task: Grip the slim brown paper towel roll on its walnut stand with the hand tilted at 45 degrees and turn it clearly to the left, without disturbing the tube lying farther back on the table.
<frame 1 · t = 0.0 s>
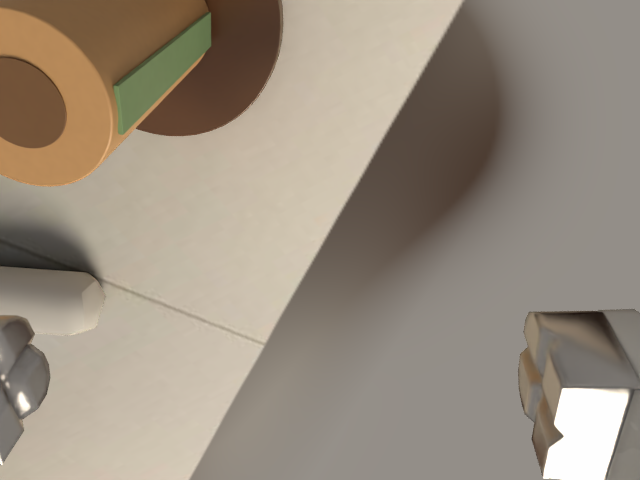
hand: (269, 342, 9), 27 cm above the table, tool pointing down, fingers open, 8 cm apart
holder: (163, 14, 32), on the table
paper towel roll: (104, 52, 25), point 9 cm above the table, hinge at 0.0°
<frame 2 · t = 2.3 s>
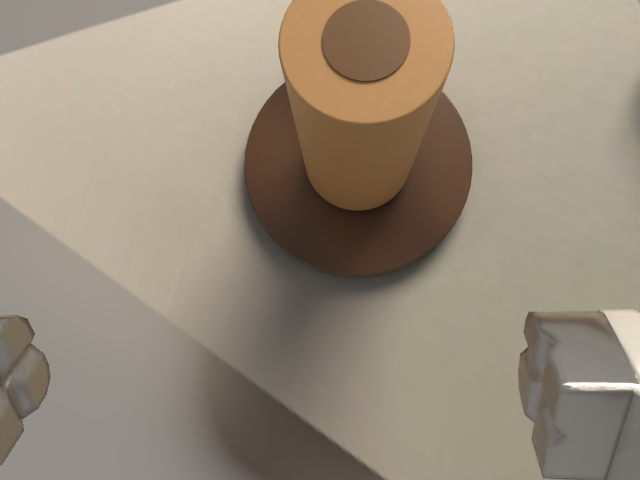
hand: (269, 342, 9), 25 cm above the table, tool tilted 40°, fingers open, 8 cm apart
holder: (357, 167, 36), on the table
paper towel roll: (359, 113, 27), point 9 cm above the table, hinge at 0.0°
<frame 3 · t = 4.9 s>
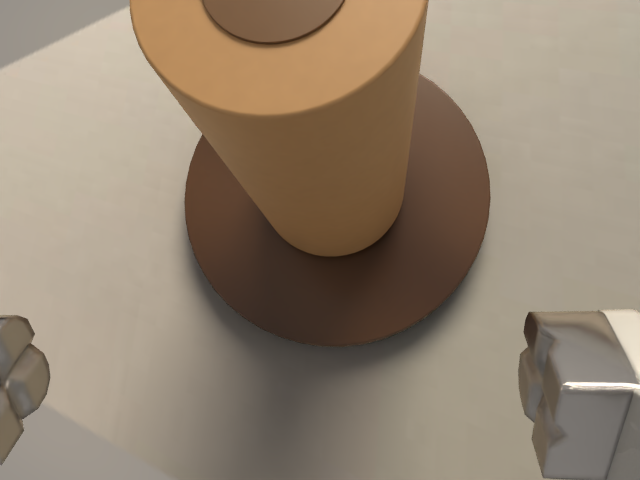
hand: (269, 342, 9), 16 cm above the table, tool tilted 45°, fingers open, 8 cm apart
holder: (335, 197, 27), on the table
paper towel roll: (311, 117, 18), point 9 cm above the table, hinge at 0.0°
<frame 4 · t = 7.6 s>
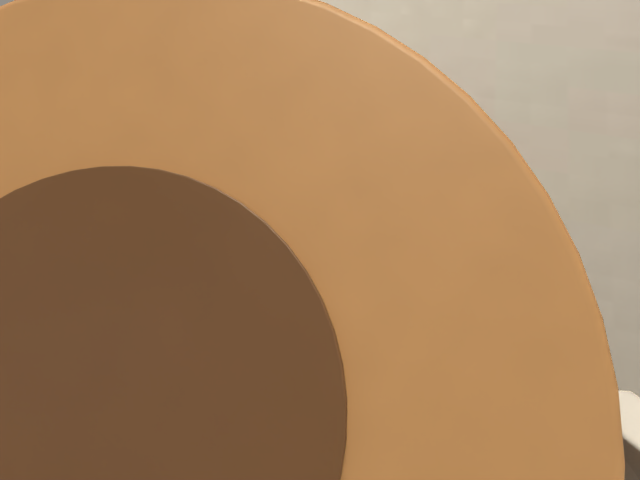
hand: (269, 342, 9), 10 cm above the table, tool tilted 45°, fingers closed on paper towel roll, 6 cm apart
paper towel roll: (279, 378, 10), point 9 cm above the table, hinge at 0.1°, touching gripper
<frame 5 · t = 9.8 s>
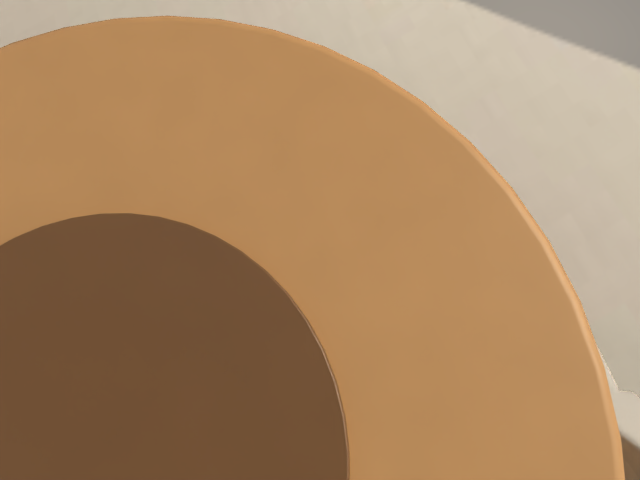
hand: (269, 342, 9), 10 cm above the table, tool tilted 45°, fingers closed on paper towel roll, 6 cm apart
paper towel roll: (281, 395, 10), point 9 cm above the table, hinge at 31.9°, touching gripper
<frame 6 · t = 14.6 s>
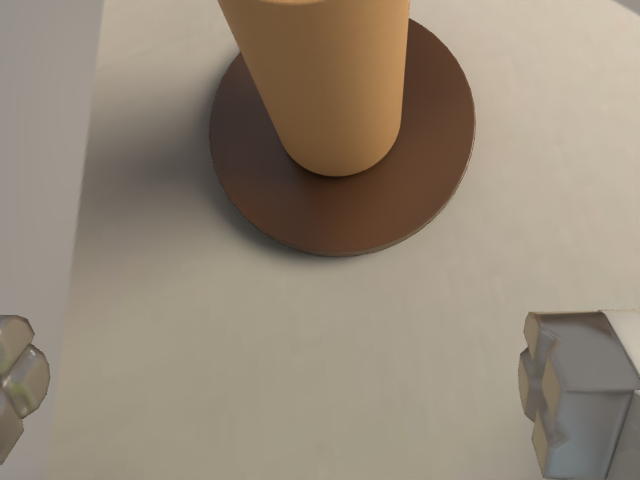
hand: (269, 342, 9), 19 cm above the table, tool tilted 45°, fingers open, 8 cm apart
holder: (340, 130, 31), on the table
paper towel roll: (323, 40, 22), point 9 cm above the table, hinge at 51.2°
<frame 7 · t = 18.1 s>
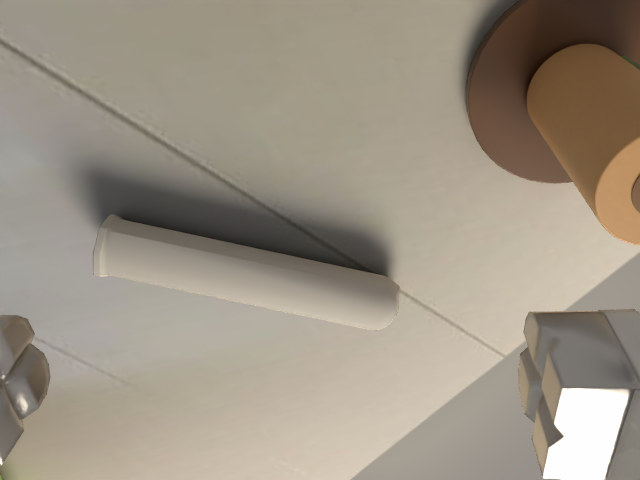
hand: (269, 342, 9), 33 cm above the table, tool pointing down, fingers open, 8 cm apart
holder: (569, 85, 39), on the table
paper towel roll: (615, 130, 32), point 9 cm above the table, hinge at 51.2°
tube: (259, 258, 49), on the table
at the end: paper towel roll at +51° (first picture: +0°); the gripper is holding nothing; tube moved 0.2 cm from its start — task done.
